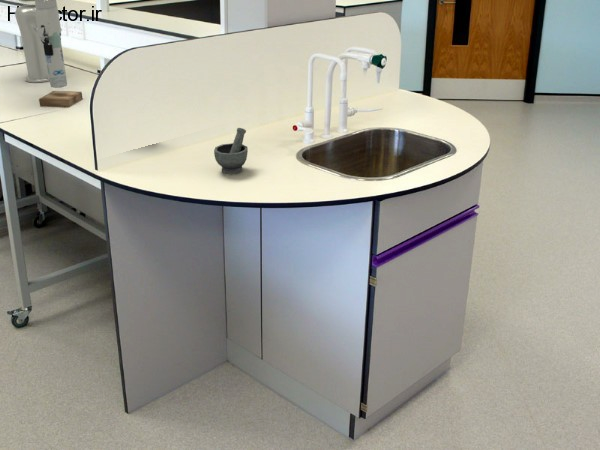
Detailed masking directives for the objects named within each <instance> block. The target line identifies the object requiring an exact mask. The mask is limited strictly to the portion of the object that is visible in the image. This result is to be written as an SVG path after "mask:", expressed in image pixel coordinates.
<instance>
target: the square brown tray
mask: <svg viewBox="0 0 600 450" xmlns="http://www.w3.org/2000/svg"><path fill="white" fill-rule="evenodd" d="M83 99H84V98H83V93H82V91H73V90H70V91H68V90H65V91H64V90H52V91H50V92H49V93H47V94H45V95H43V96H41V97H39V98H38V103H39V106H40V107H42V108H43V107H44V108H46V107H47V108H49V107H50V108H71V107H72V106H74V105H76V104H77V103H79V102H80V101H82V100H83Z"/></svg>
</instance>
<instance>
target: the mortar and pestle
mask: <svg viewBox="0 0 600 450" xmlns="http://www.w3.org/2000/svg"><path fill="white" fill-rule="evenodd" d="M246 133H247V130H246V129H245V128H242V127H237V128H236V134H235V137H234V140H233V142H231V143H224V144H223V143H222V144H220V145H217V146H215V148H214V152H213V154H214V159H215V161H216V163H217V164H218V165H219V166H220V167H221V173H222V174H224V175H228V176H229V175H230V176H231V175H239V174H241V173H243V166H244V165H245V163H246V161H247V159H248V152H249V151H248V150H249V149H248V146H247V145H245V144H243V142H244V138H245V134H246Z"/></svg>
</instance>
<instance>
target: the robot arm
mask: <svg viewBox="0 0 600 450" xmlns="http://www.w3.org/2000/svg"><path fill="white" fill-rule="evenodd" d="M18 1H19V2H22V3H23V2H25V3H27V2H34V4H26V5H21V6H18V7H17V8H16V9H15V11H14V16H15V20H16V23H17V26H18V28H19V33H20V38H21V44H22V48H23V53H24V54H23V55H24V58H25V65H26V70H27V75H26V77H24V81H26V82H28V83H45V82H50V80H49V74H48V68H47V63H46V57H45V55H46V56H53V48H52V45H51V37H52V36H53V34H56V33H58V32H59V34H60V38H61V39H62V37H61V36H62V26H61V22H60V15H59V8H58V2H57V0H18ZM45 35H48V36H45ZM46 38H48V40H47V39H46Z"/></svg>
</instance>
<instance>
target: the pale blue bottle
mask: <svg viewBox="0 0 600 450" xmlns="http://www.w3.org/2000/svg"><path fill="white" fill-rule="evenodd" d="M45 36H48V35H45ZM46 39H47V40H48V38H46ZM51 45H52V48H53V56H46V55H45V57H46V63H47V68H48V74H49V80H50V81H49V84H50V88H55V89H57V88H58V89H59V88H64V87H67V86H68V80H67V74H66V68H65V67H66V66H65V59H64V53H63V45H62V37H61V38H60V34H59V32H58V33H56V34H53V36H52V37H51Z"/></svg>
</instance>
